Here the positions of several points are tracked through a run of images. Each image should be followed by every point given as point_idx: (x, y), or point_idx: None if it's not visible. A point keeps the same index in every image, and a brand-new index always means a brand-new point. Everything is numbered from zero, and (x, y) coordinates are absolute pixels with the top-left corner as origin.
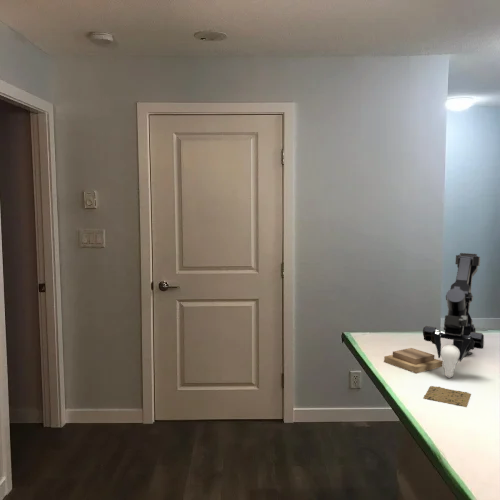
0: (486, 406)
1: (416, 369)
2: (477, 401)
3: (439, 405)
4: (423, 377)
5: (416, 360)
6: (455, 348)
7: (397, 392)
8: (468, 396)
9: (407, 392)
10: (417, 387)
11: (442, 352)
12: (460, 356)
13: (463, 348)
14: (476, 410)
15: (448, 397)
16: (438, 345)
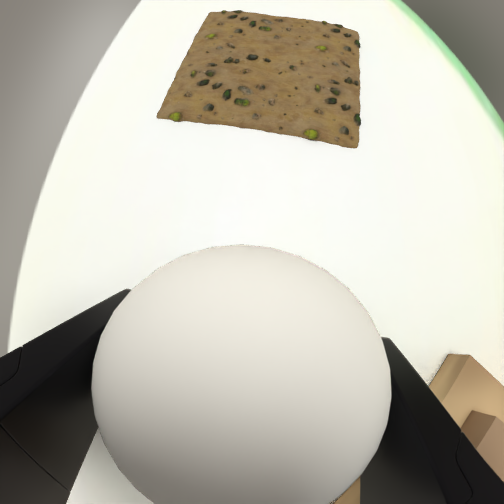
0: (137, 38)
1: (460, 357)
2: (154, 59)
3: (298, 4)
4: (408, 292)
5: (484, 423)
6: (140, 322)
7: (445, 67)
8: (178, 81)
9: (420, 69)
10: (407, 121)
11: (366, 311)
12: (111, 308)
13: (16, 374)
14: (182, 7)
15: (268, 45)
16: (451, 449)
